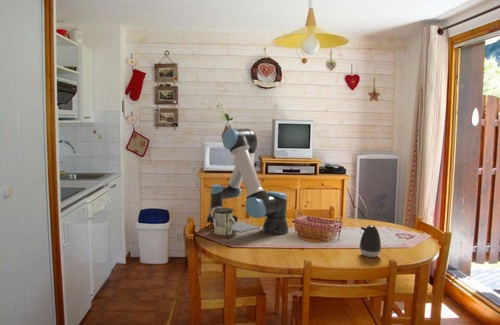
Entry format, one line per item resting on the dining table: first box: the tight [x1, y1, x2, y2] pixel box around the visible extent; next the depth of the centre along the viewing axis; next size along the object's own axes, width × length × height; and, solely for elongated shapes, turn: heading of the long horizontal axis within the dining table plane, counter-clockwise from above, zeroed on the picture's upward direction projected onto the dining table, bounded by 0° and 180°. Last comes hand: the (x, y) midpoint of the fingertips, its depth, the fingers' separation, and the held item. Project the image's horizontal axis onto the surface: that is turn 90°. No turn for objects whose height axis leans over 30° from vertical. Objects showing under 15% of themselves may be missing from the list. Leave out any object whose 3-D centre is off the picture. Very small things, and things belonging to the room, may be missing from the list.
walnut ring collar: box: [209, 228, 237, 239], centre depth 222 cm, size 14×14×2 cm
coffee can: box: [213, 207, 234, 235], centre depth 222 cm, size 10×10×14 cm
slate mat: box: [232, 221, 260, 233], centre depth 238 cm, size 16×16×1 cm
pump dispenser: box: [359, 224, 382, 258], centre depth 194 cm, size 10×10×15 cm
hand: (224, 223), depth 218 cm, fingers closed on coffee can, 10 cm apart
